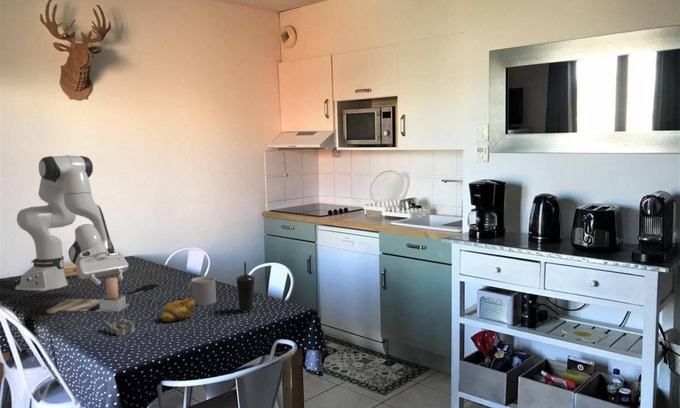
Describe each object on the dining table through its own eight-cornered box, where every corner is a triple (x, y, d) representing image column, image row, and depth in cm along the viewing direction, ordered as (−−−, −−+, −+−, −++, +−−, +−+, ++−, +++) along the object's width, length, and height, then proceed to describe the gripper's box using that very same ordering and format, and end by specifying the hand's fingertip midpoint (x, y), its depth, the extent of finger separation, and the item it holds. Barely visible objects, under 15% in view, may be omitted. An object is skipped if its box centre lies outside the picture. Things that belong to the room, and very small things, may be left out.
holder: (95, 313, 223) (94, 301, 222) (106, 306, 232) (106, 294, 232) (119, 313, 222) (119, 301, 222) (130, 306, 232) (129, 294, 232)
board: (46, 313, 223) (46, 310, 223) (67, 301, 239) (67, 299, 239) (85, 313, 223) (85, 310, 223) (104, 302, 239) (103, 299, 238)
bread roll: (168, 325, 207) (167, 304, 207) (155, 320, 214) (154, 299, 213) (197, 317, 217) (197, 297, 216) (184, 312, 223) (183, 293, 223)
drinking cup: (259, 308, 227) (257, 261, 225) (250, 314, 220) (248, 264, 218) (242, 307, 230) (241, 259, 228) (233, 312, 223) (231, 263, 221)
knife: (119, 301, 242) (119, 298, 242) (109, 299, 245) (109, 296, 244) (161, 287, 264) (161, 284, 264) (151, 286, 267) (151, 283, 267)
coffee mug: (220, 302, 238) (219, 279, 237) (200, 307, 231) (199, 283, 230) (203, 296, 247) (202, 274, 246) (183, 301, 240) (182, 278, 239)
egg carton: (103, 331, 202) (102, 320, 202) (122, 326, 208) (122, 315, 207) (118, 337, 195) (117, 326, 195) (137, 331, 201) (137, 320, 201)
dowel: (105, 309, 225) (103, 280, 224) (110, 305, 229) (108, 277, 228) (116, 309, 225) (114, 280, 224) (120, 306, 229) (119, 277, 228)
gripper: (118, 256, 242) (131, 281, 237) (70, 264, 226) (83, 291, 221) (123, 247, 239) (136, 272, 233) (75, 254, 223) (87, 282, 218)
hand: (110, 282), depth 227 cm, fingers open, 8 cm apart
